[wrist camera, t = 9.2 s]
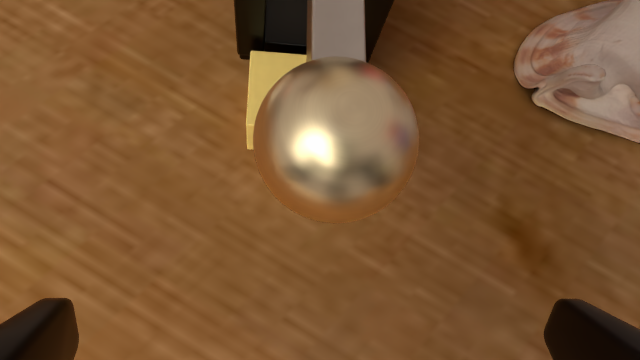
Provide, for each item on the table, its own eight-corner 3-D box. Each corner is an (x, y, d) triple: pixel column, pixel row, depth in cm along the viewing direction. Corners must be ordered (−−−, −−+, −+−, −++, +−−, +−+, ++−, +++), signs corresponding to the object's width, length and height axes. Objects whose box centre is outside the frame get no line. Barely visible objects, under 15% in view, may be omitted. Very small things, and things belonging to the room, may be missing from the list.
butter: (351, 155, 16) (364, 131, 14) (247, 149, 16) (246, 124, 14) (349, 88, 17) (360, 58, 15) (250, 81, 17) (250, 49, 15)
